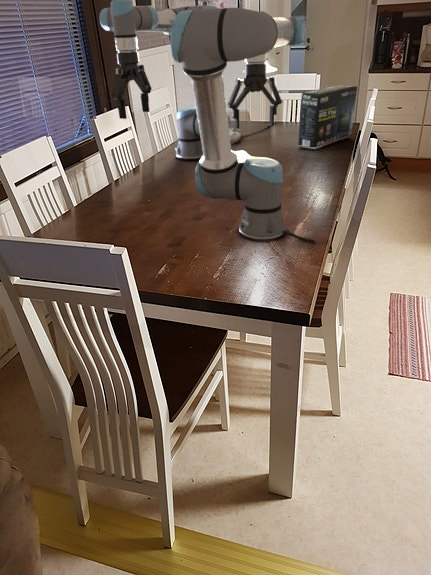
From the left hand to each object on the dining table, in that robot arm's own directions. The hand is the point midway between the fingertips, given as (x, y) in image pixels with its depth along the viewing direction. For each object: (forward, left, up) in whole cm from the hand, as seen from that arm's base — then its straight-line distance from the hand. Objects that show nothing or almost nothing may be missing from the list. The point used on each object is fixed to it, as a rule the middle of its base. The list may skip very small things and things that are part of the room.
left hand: (135, 115), depth 171 cm
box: (-16, +39, -30) cm, 52 cm away
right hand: (-7, +44, -5) cm, 45 cm away
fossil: (-88, +18, -30) cm, 94 cm away
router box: (-86, +71, -30) cm, 116 cm away
